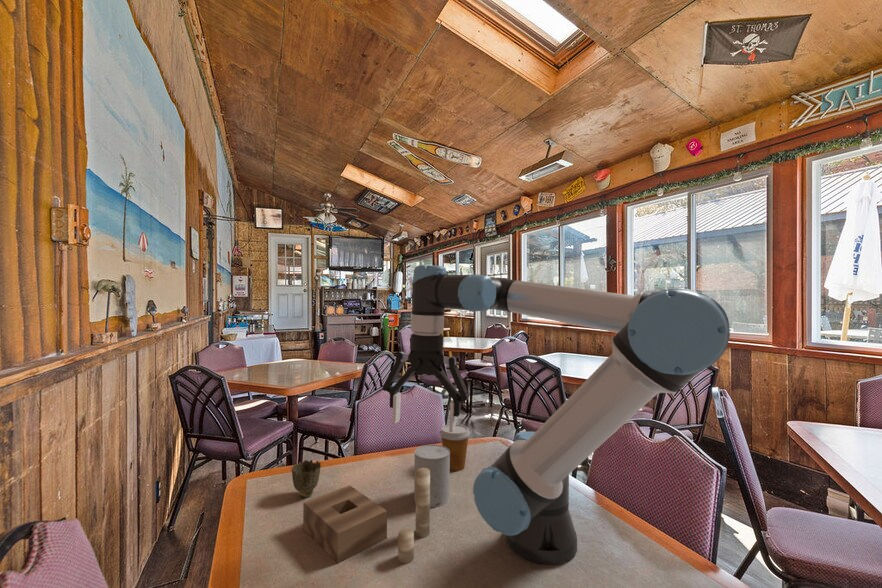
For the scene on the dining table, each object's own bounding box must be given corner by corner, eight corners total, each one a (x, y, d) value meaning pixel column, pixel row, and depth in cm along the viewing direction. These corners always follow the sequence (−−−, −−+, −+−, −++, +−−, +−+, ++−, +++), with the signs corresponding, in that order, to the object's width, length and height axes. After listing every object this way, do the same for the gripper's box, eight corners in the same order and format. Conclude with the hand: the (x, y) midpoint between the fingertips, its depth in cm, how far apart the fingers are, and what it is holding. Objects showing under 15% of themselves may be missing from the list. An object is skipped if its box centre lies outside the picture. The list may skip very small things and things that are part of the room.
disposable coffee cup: (474, 464, 123) (475, 427, 123) (460, 476, 115) (460, 436, 115) (449, 458, 128) (449, 421, 128) (433, 468, 120) (434, 430, 120)
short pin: (416, 558, 78) (417, 533, 78) (404, 565, 76) (404, 540, 76) (407, 550, 81) (407, 527, 81) (394, 557, 78) (395, 533, 79)
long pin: (432, 533, 87) (433, 471, 87) (421, 539, 85) (422, 475, 85) (423, 527, 89) (423, 466, 89) (412, 532, 87) (413, 470, 87)
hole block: (386, 538, 85) (387, 510, 85) (337, 563, 77) (338, 533, 77) (349, 509, 96) (349, 485, 96) (303, 528, 88) (303, 502, 88)
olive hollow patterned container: (284, 499, 101) (285, 468, 101) (303, 486, 108) (303, 457, 108) (308, 504, 98) (308, 473, 98) (326, 491, 105) (326, 461, 105)
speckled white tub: (446, 509, 97) (446, 460, 97) (409, 504, 99) (410, 457, 99) (452, 490, 106) (452, 446, 106) (419, 487, 108) (419, 443, 108)
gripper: (484, 335, 87) (480, 428, 88) (384, 328, 95) (381, 413, 95) (477, 339, 80) (473, 440, 80) (370, 331, 87) (366, 423, 88)
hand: (423, 426), depth 88 cm, fingers open, 13 cm apart
